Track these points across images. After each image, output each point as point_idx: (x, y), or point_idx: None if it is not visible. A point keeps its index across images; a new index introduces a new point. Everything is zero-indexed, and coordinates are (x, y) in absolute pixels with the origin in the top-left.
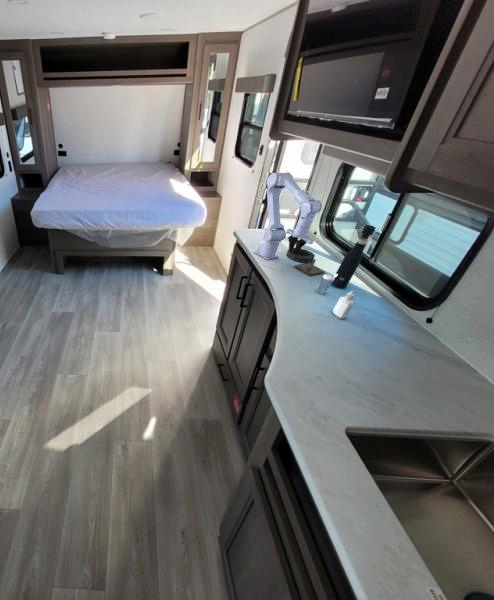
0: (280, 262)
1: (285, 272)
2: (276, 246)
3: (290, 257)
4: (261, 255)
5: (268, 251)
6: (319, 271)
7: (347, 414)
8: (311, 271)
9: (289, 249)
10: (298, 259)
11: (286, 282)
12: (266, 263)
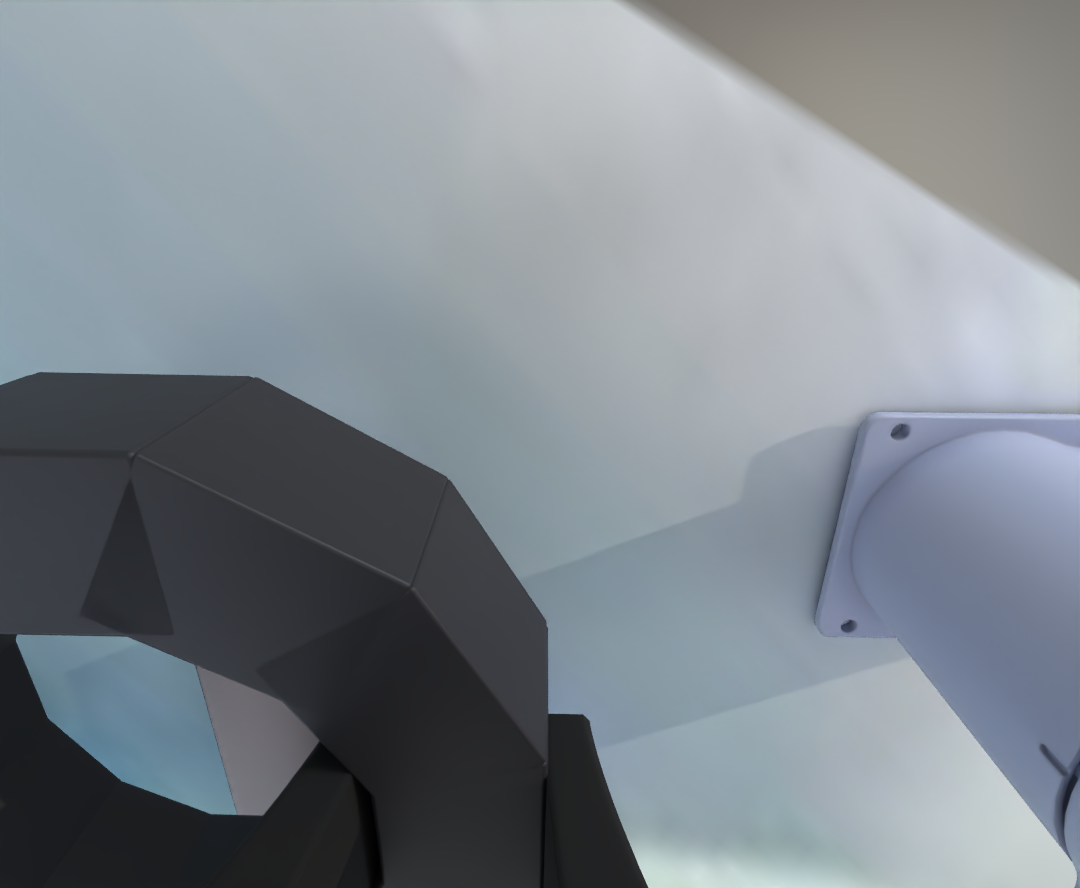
0: (687, 555)
1: (386, 362)
2: (1014, 708)
3: (141, 395)
4: (1027, 420)
5: (1014, 510)
6: (248, 788)
7: None
8: (263, 705)
9: (464, 694)
10: None
11: (33, 43)
12: (776, 290)
